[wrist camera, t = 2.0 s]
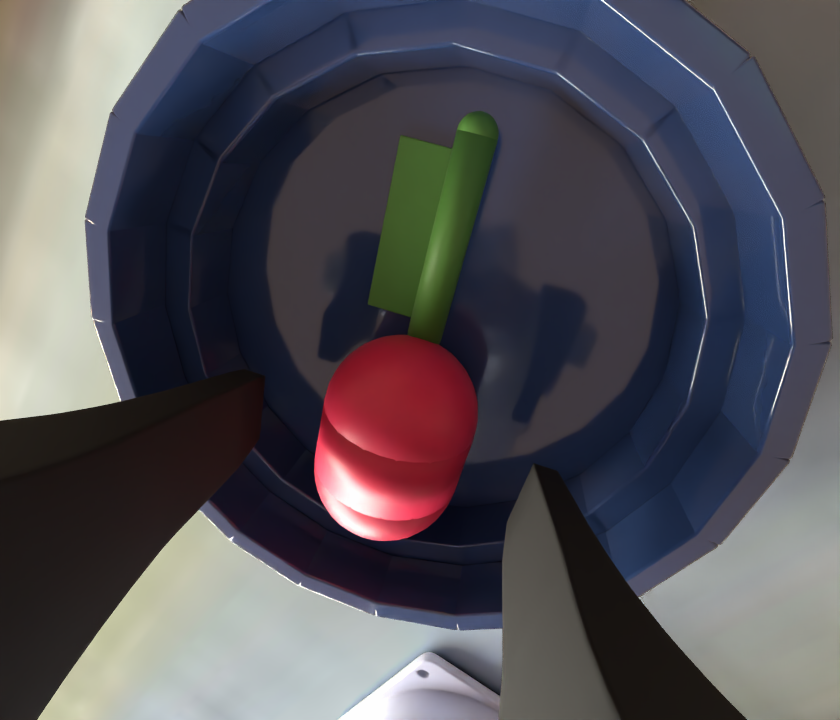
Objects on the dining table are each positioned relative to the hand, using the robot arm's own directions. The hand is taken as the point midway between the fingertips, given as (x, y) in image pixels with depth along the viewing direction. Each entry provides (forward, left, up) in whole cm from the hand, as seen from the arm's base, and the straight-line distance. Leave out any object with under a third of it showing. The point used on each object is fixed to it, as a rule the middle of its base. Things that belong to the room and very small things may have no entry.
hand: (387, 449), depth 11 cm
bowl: (+2, +1, -3) cm, 4 cm away
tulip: (+2, +1, -3) cm, 4 cm away
